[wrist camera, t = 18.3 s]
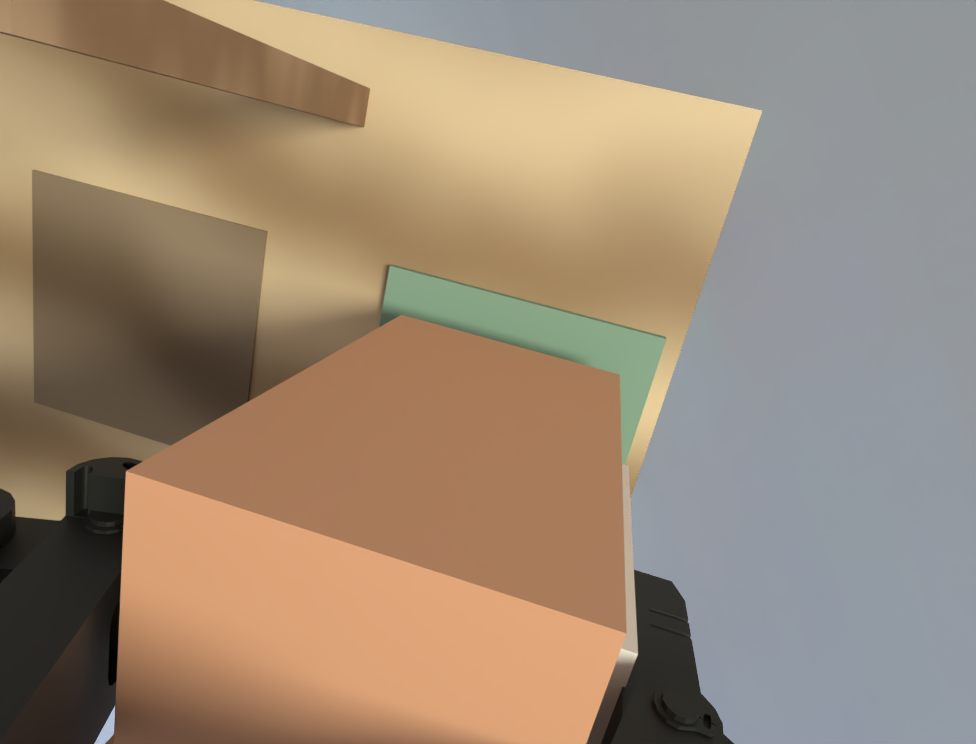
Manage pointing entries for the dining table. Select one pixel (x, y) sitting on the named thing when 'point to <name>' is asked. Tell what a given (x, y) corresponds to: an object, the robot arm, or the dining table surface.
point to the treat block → (381, 554)
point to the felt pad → (533, 332)
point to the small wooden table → (306, 209)
